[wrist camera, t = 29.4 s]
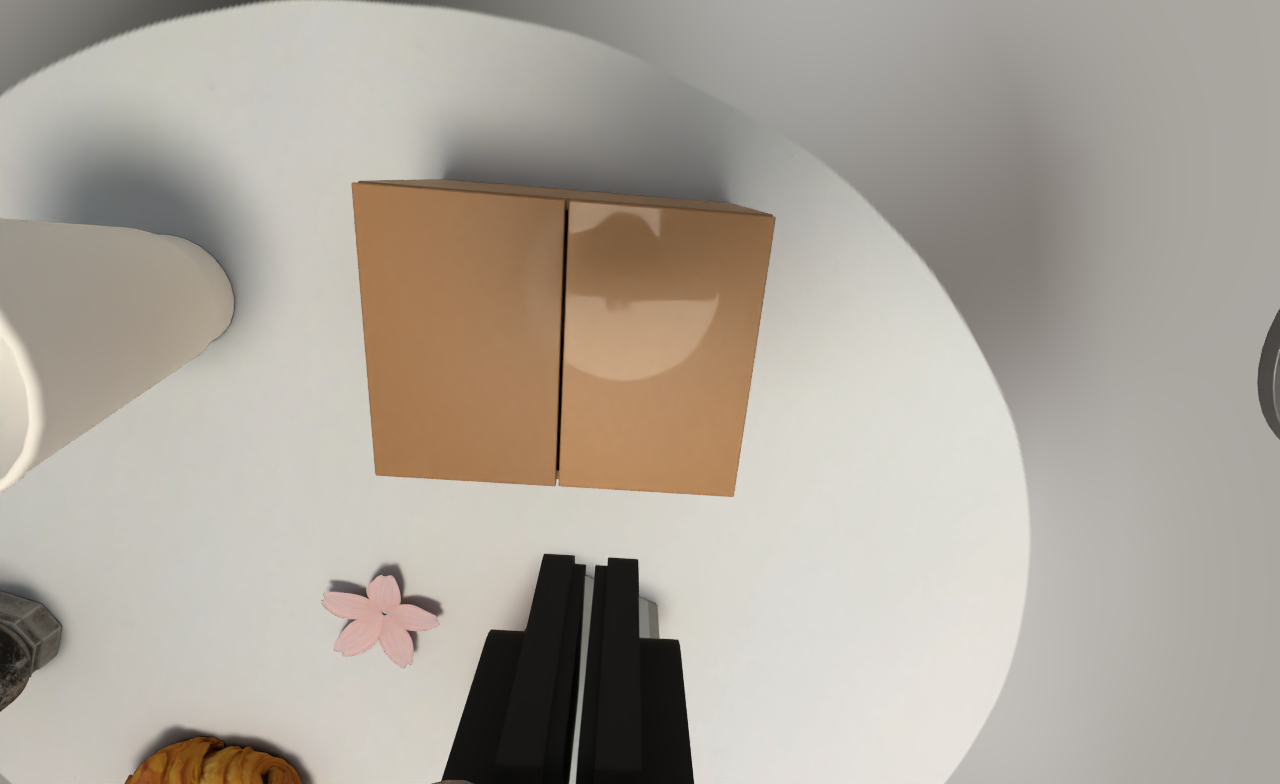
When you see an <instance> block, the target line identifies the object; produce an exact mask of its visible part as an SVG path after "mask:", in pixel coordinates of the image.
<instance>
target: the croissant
mask: <svg viewBox="0 0 1280 784" xmlns="http://www.w3.org/2000/svg"><path fill="white" fill-rule="evenodd" d="M125 784H302V782H301V780H300V778H299V776H298V774H297V773H296V771H295V769H294V768H293V767H292V766H290V765H289V764H288V763H287V762H286V761H285V760H283V759H282V758H277V757H272V756H270V755H269V754H268V753H263V752H255V751H254V750H252V749H251V748H250V747H248V746H247V747H246V748H245V749H241V748H240V747H239V746H230V747H226V748H225V747H224V742H223V741H220V740H218V739H216V738H213V737H210V738H206V737H196V738H194V739H190V740H187V741H184V742H179V743H175V744H172V745H170V746H167V747H165V748H163V749H161V750H159V751H158V752H157V753H155V754H154V755H153V756H151V757H149V758H147V760H146V761H144V762H143V763H142V764H141V765H140V766H139V767H138V768H137V770H136V771H135V772H134V775H129V776H128V778H127V780H126V782H125Z"/></svg>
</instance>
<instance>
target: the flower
mask: <svg viewBox="0 0 1280 784" xmlns="http://www.w3.org/2000/svg"><path fill="white" fill-rule="evenodd" d="M366 592H367V596H368V598H369V599H368V598H365V597H363V596H360V595H356V594H350V593H341V592H326V593H324V598H325V599H324V600H321V603H322V605H323V606H324V607H325V608H326V609H327V610H328V611H329V612H331V613H332V614H334V615H335V616H338V617H340V618H345V619H357V620H355V621H353V622H352V623H350V624H349V625H348V626H347V627H346V628H345V629H344V630H343V631H342V633H341V634H340V636H339V637H338V639H337V641H336V643H335V646H334V651H336V652H342V656H345V657H347V656H354V655H357V654H360V653H363V652H365V651H367V650H369V649H370V648H371V647H372V646H373V645H374V644H375V643H376V641H377V640H378V638H379V642H380V645H381V646H382V648H383V650H384V652H385V653H386V655H387V656H388V657H389V658H390V659H391V660H392V661H393V662H394V663H395V664H397V665H398V666H400V667H402V668H405V667H406V665H407V663H408V664H410V665H411V664H412V662H413V642H412V639H411V637H410V635H409V634H408V632H407V631H406V630H410V631H426V630H429V629H432V628H435V627H437V626H438V625H440V623H439V622H438V621H437V620H436V619H435V618H437V617H436V616H435V615H434V614H431V613H429V612H426V611H425V610H423V609H421V608H419V607H417V606H414V605H410V604H401V605H400V602H401V595H400V591H399V587H398V584H397V582H396V580H395V579H394V577H393V576H392V575H389V576H386V577H384V576H383V575H379V576H378V577H376V578H375V579H374V580H373V581H372V582H371V583H370V584H369V585H368V587H367V589H366ZM383 611H387V612H386V613H387V615H383V614H381V613H382V612H383Z"/></svg>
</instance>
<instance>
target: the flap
mask: <svg viewBox="0 0 1280 784" xmlns="http://www.w3.org/2000/svg"><path fill="white" fill-rule="evenodd" d="M775 219H776V218H775V217H773V216H761V215H749V214H737V213H724V212H712V211H700V210H688V209H675V208H663V207H651V206H639V205H626V204H614V203H602V202H590V201H577V200H569V212H568V239H567V267H566V295H565V323H564V351H563V379H562V407H561V434H560V462H559V486H567V487H583V488H599V489H615V490H631V491H647V492H663V493H679V494H695V495H711V496H728V497H733V496H734V491H735V484H736V478H737V471H738V464H739V458H740V451H741V444H742V438H743V431H744V424H745V418H746V411H747V405H748V398H749V391H750V385H751V378H752V371H753V365H754V358H755V351H756V345H757V338H758V331H759V325H760V318H761V312H762V305H763V298H764V292H765V285H766V278H767V272H768V265H769V258H770V252H771V245H772V238H773V232H774V225H775Z"/></svg>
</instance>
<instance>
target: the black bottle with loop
mask: <svg viewBox="0 0 1280 784" xmlns="http://www.w3.org/2000/svg"><path fill="white" fill-rule="evenodd" d="M61 628H62V626H61V625H60V624H59V623H58V622H57V621H56V619H55V618H54V617H53V616H52V615H51V614H50V613H49V612H48V611H47V610H46V609H45V607H44V606H43V605H42V604H40V603H36V602H33V601H30V600H27V599H24V598H20V597H17V596H14V595H11V594H8V593H4V592H1V591H0V712H1V711H2V710H3V709H4V708H5V707H7V706H8V705H9V704H10V703H12V702H13V701H14V700H15V699H16V698H17V697H18V696H19V695H20V694H21V693H22V691H23V690H24V688H25V687H26V684H27V682H28V680H29V678H30V677H31V675H32V673H33V672H34V671H36V670H38V669H40V668H41V667H43V666H44V665H45V664H47V663H48V662H49V661H50V660H51V659H53V658H54V657H55V656H56V655H57V651H58V645H59V639H60V633H61Z"/></svg>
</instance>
